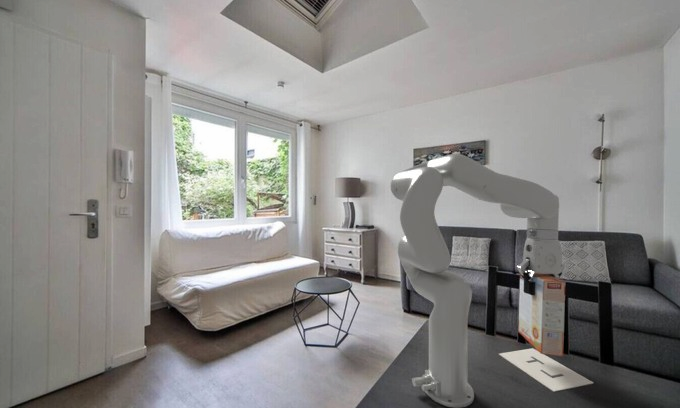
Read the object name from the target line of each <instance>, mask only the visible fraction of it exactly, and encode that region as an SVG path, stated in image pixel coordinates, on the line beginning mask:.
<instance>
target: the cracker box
mask: <svg viewBox="0 0 680 408" xmlns="http://www.w3.org/2000/svg"><path fill="white" fill-rule="evenodd" d="M529 276H531V273H529ZM533 282H535V295H533V296H532V295H530V294H527V293H524V279H522V276H521V275H520V274H519V294H518V295H519V296H518V297H519V300H518V301H519V302H518V304H519V305H518V330H517V331H518V333H519V334H520V335H521V336H522V337H523V338H524V339H525V340H526V341H527V342H528V343H529V344H530V345H532V347H533V348H534V349H535V350H537V351H539V352H540V353H541V354H544V355H546V356H547V355H548V356H554V357H564V339H565V336H564V333H565V305H566V304H565V301H566V282H565V281H564V280H562V279H560V280H559V279H557V278H555V277H552V276H550V275H548V274H546V275H539V274H537V275H536V277H535V279H534V281H533Z"/></svg>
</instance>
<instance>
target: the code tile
mask: <svg viewBox="0 0 680 408" xmlns="http://www.w3.org/2000/svg"><path fill="white" fill-rule="evenodd" d="M498 355H499V356H501V357H502V358H503V359H505V360H506V361H508V362H509V363H511V364H512V365H513V366H515V367H516V368H518V369H519V370H521V371H522V372H524V373H525V374H527V375H528V376H529V377H531V378H532V379H534V380H536V381H537V382H538V383H540V384H542V385H543V386H545V387H546V388H547V389H549V390H550V391H552V392H560V391H564V390H569V389H575V388H578V387H583V386H588V385H592V384H594V382H593V381H592V380H590V379H588V378H586V377H585V376H583V375H581V374H579V373H577V372H575V371H574V370H572V369H570V368H569V367H566V366H565V365H563V364H561V363H559V362H558V361H557V360H554V359H553V358H551V357H549V355H548V356H547V355H546V354H541V353H540V352H539V351H538V350H537V349H536V348H534V347H532V348H527V349H521V350H520V349H518V350H514V351H508V352H501V353H498Z"/></svg>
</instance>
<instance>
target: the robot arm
mask: <svg viewBox="0 0 680 408" xmlns="http://www.w3.org/2000/svg"><path fill="white" fill-rule="evenodd" d="M443 187H452V188H455V189H457V190H459V191H461V192H464V193H465V194H467V195H469V196H471V197H474V198H475V199H478V200H479V201H481V202H482V201H483V202H488V203H492V204H500V209H501V211H502V213H503V214H504V215H506V216H508V217H511V218H516V219H517V218H518V219H526V221H527V222H526V239H525V242H524V247H523V253H522V254H523V255H522V262H521V263H519V264H518V265H517V266H516V269H517V271H518V272H519V276H520V275H521V276H522V279H524V293H527V294H530V295H532V296H533V295H535V282H533V281H534V279H535V277H536V275H537V274H539V275H546V274H548V275H550V276H552V277H555V278H557V279H559V280H561V278H560V277H561V276H562V275H563V271H564V269H565V265H564V264H563V253H562V246H561V242H560V240H559V212H560V201H559V200H560V198H559V196H558V195H557V194H555V193H553V192H552V191H550V190H549V189H547V188H545V187H544V186H542V185H540V184H538V183H535V182H533V181H530V180H526V179H523V178H520V177H519V178H518V177H515V176H511V175H508V174H507V175H506V174H504V173H498V172H496V171H494V170H492V169H491V168H488V167H487V166H485V165H483V164H481V163H480V162H478V161H476V160H474V159H472V158H470V157H469V156H467V155H465V154H461V153H451V154H448V155H442V156H439V157H436V158H433V159H429V160H428V161H425V162H422V163H420V164H417V165H415V166H411V167H409V168H407V169H404V170H401V171H399V172H397V173H396V174H395V175H394V176H393V178H392V179H391V182H390V192H391V194H392V195H393V196H394V197H395V198H396V199H397V200H400V201H403V202H402V205H401V208H400V214H399V221H400V225H401V228H402V232H403V233H404V235H403V236H402V237H401V238H400V240H399V241H398V245H397V256H398V258H399V261H400V264H401V265H402V268H403V270H404V272H405V274H406V276H407V279H408V281H409V283H410V285H411V286H412V288H413V289H414V291H415V292H416V293H417V294H419V295H420V296H421V297H423V298H425V299H427V300H428V301H430V302H432V303H433V308H432V310H431V313H430V314H429V318H428V369H425V370H424V374H422V376H418V377H412V378H411V383H412V385H413V387H420V386H421V387H420V388H421V389H422V391H423V392H425V394H426V395H427V396H428V397H429V398H430V399H431V400H432V401H434V402H436V403H437V404H439V405H443V406H445V407H448V408H466V407H468V406H470V405H471V404H472V403H473V402H474V399H475V391H474V389H473V388H472V386H471V384H470V383H469V382H468V320H469V319H468V318H469V311H470V308H471V307H470V306H471V303H472V296H473V293H472V288H471V285H470V284H469V282H468V281H467V279H466V278H464V277H463V276H461V275H459V274H457V273H455V272H453V271H450V270H448V269H449V267H450V265H451V254H450V251H449V249H448V245H447V244H446V242H445V241H446V240H445V239H444V236H443V234H442V232H441V230H440V227H439V225H438V223H437V220H436V215H435V208H436V204H437V202H438V200H439V197H440V195H441V193H442V191H443ZM529 273H531V276H529Z"/></svg>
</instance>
